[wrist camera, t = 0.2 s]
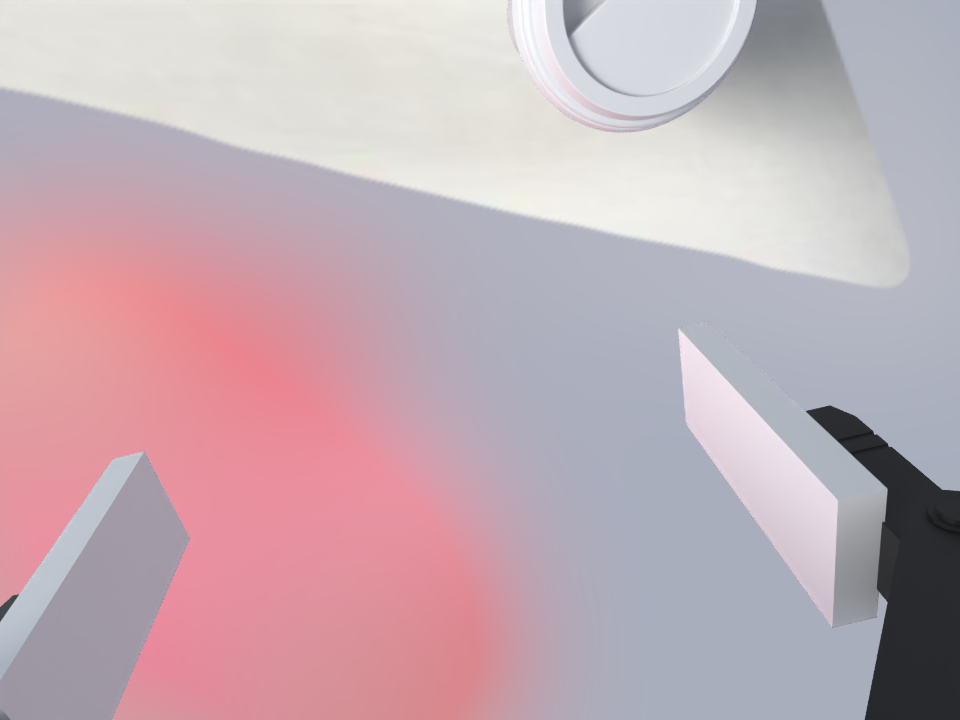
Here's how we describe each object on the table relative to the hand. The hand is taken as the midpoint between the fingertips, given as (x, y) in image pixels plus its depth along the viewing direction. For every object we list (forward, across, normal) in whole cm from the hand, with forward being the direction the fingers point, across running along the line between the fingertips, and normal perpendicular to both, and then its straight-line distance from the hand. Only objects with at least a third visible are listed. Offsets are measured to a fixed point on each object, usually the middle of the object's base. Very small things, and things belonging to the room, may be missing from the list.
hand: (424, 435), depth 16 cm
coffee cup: (+28, +11, +8) cm, 31 cm away
